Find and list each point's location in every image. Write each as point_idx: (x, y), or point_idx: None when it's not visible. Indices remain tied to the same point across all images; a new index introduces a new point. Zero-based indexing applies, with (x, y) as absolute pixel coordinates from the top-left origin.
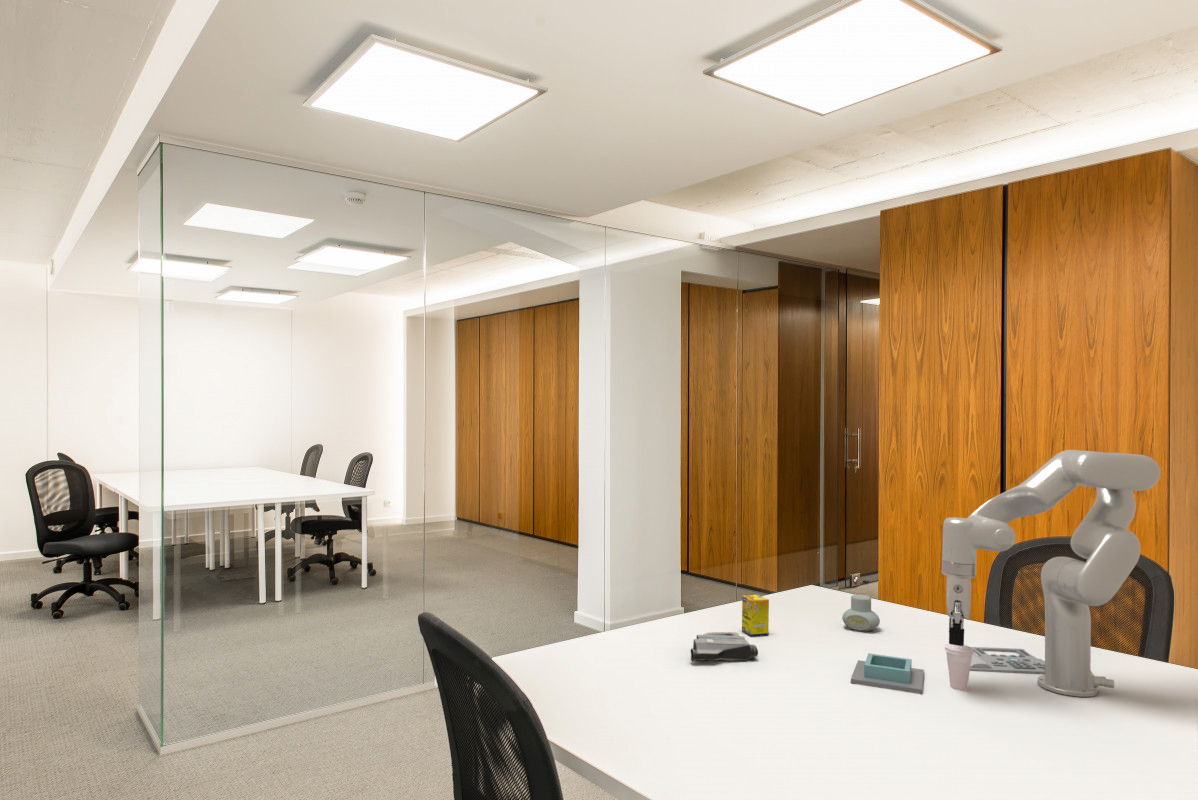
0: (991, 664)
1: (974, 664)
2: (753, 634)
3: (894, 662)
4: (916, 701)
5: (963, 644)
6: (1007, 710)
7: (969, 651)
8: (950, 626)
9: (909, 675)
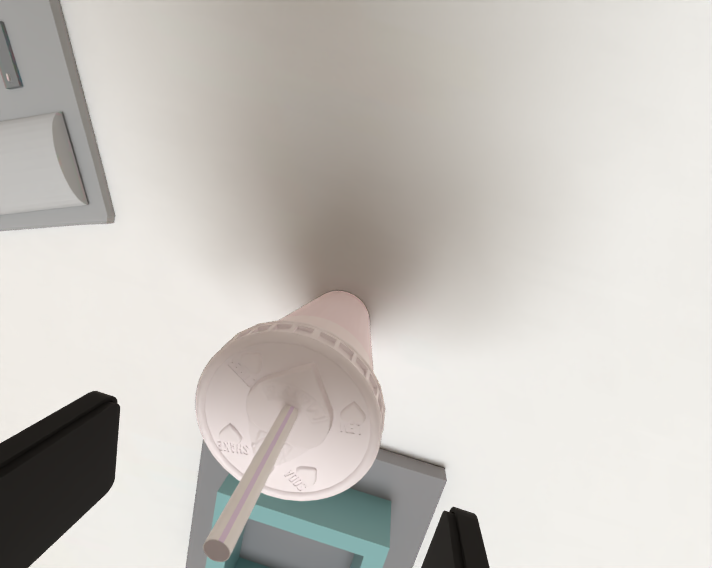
0: (6, 96)
1: (71, 189)
2: None
3: None
4: (526, 504)
5: (477, 522)
6: (590, 202)
7: (365, 381)
8: (47, 545)
9: (389, 531)
